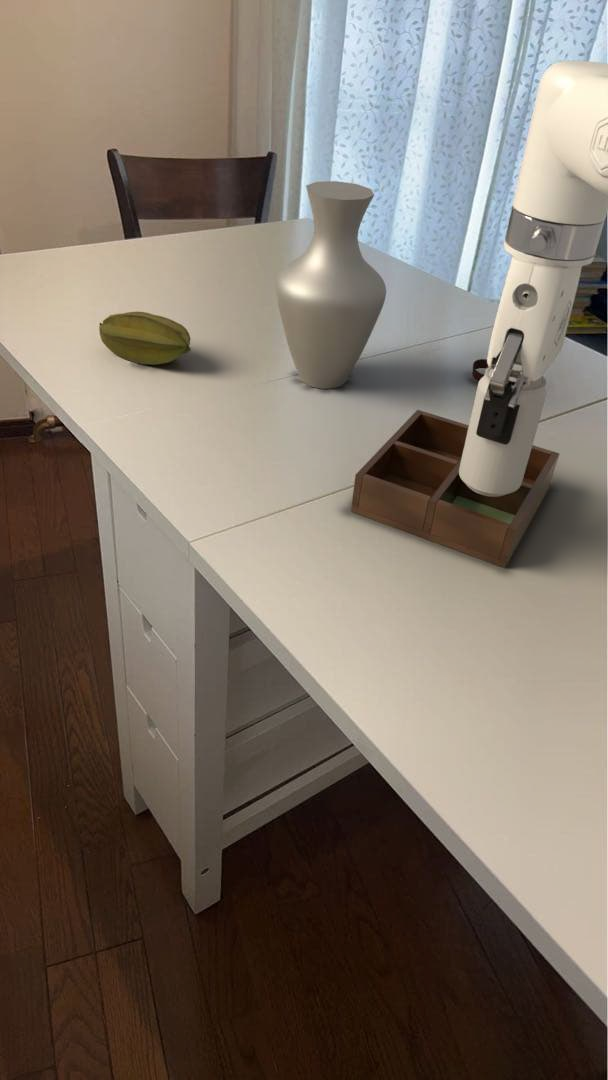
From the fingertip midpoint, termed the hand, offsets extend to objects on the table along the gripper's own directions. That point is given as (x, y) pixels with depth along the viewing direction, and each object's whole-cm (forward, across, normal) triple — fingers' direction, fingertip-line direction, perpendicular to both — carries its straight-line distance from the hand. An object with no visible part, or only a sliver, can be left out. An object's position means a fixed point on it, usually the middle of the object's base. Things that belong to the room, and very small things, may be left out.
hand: (504, 422), depth 77 cm
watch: (+13, +36, +9) cm, 40 cm away
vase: (+13, +22, +30) cm, 40 cm away
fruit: (+13, +12, +53) cm, 56 cm away
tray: (+13, +4, +4) cm, 15 cm away
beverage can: (+7, 0, 0) cm, 7 cm away
